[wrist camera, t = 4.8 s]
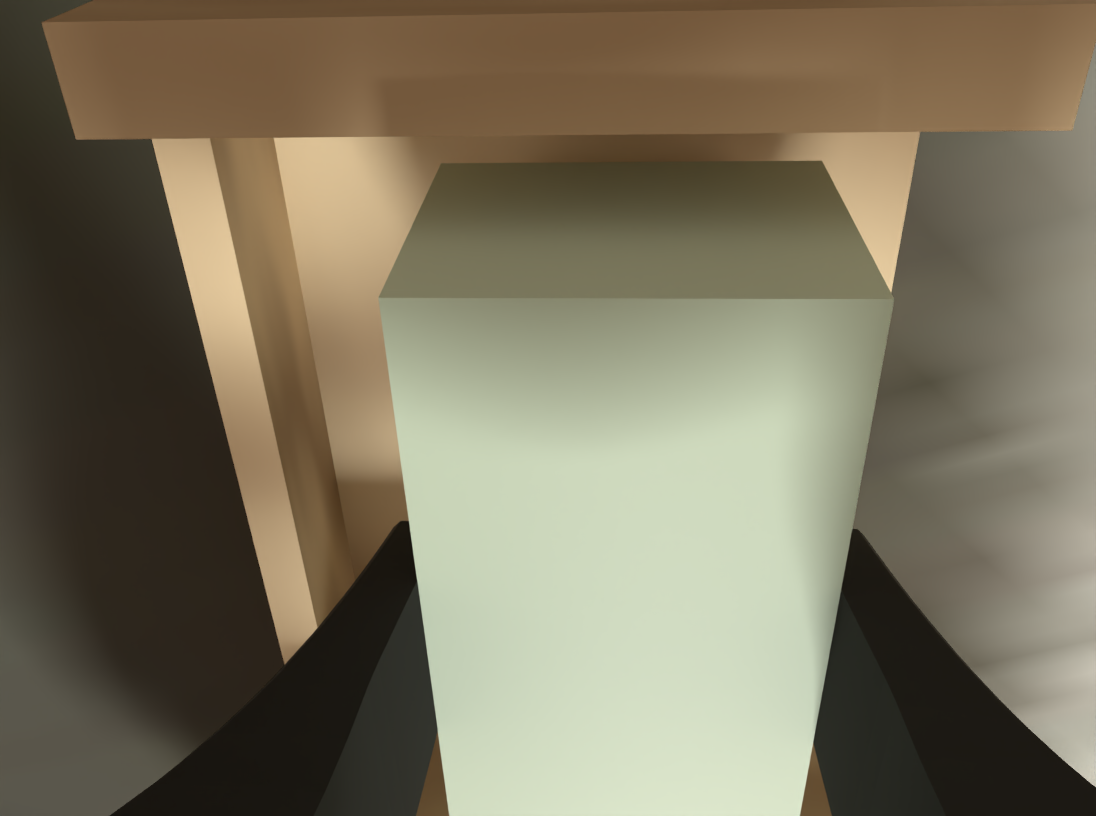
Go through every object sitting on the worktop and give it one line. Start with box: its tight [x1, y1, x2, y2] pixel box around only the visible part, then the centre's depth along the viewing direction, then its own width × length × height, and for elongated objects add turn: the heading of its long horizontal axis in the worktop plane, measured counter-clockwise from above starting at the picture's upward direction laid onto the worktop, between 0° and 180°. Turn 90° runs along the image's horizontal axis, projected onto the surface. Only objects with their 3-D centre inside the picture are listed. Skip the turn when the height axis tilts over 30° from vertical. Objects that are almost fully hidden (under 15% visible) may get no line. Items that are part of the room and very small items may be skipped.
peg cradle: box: [41, 0, 1096, 816], centre depth 16 cm, size 15×11×6 cm
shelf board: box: [378, 161, 894, 816], centre depth 14 cm, size 10×5×4 cm, turn 2°
